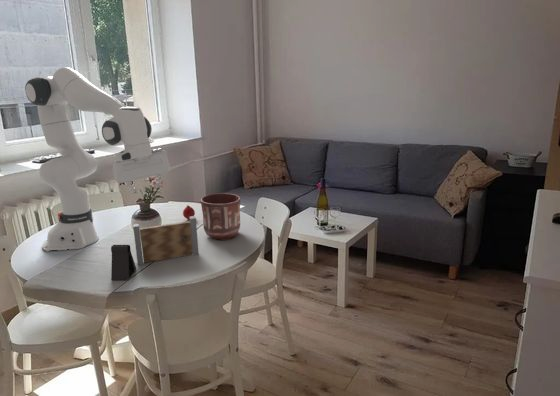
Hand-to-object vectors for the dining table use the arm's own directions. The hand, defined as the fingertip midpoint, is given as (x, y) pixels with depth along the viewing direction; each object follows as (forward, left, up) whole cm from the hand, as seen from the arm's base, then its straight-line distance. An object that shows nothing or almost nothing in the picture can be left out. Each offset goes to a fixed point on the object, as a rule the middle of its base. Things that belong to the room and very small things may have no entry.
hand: (147, 190), depth 154 cm
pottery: (+33, +23, -32) cm, 51 cm away
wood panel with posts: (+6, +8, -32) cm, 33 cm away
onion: (+23, +51, -32) cm, 64 cm away
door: (+6, +7, -31) cm, 32 cm away
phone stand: (-11, 0, -32) cm, 34 cm away
